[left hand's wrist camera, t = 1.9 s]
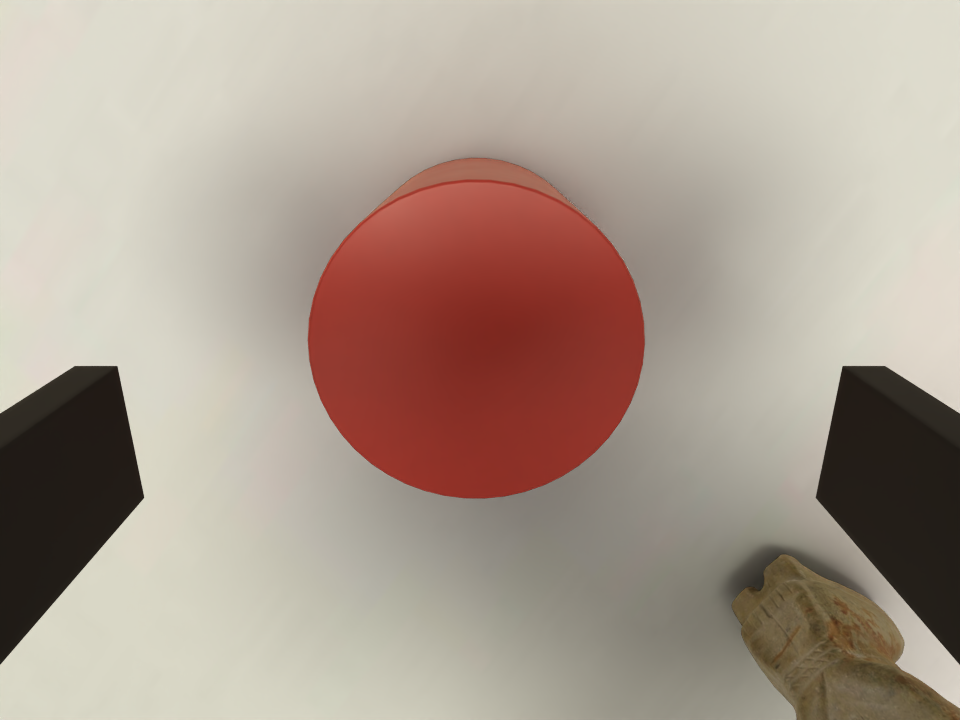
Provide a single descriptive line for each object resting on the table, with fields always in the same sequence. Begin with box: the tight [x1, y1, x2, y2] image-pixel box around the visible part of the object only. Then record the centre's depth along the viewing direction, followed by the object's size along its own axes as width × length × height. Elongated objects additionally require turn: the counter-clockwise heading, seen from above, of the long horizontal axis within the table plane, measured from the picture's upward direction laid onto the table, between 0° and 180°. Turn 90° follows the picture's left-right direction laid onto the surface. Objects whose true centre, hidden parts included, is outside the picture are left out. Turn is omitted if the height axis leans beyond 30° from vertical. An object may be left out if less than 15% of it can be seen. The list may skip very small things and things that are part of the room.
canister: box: [308, 158, 645, 498], centre depth 21 cm, size 9×9×9 cm
